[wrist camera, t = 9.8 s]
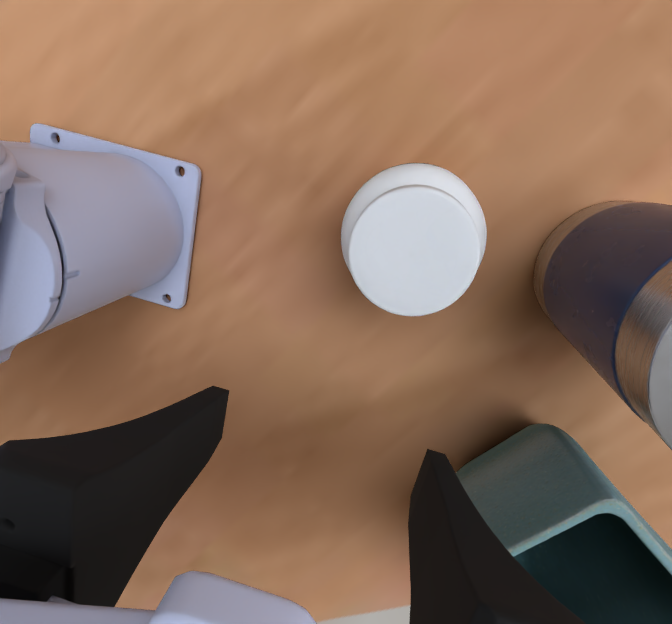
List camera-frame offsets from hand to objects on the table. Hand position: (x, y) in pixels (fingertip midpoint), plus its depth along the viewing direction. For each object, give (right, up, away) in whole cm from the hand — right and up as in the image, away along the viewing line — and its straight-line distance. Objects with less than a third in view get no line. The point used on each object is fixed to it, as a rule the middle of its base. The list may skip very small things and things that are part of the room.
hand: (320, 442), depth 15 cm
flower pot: (+11, -5, +10) cm, 16 cm away
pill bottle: (+4, +9, +7) cm, 12 cm away
